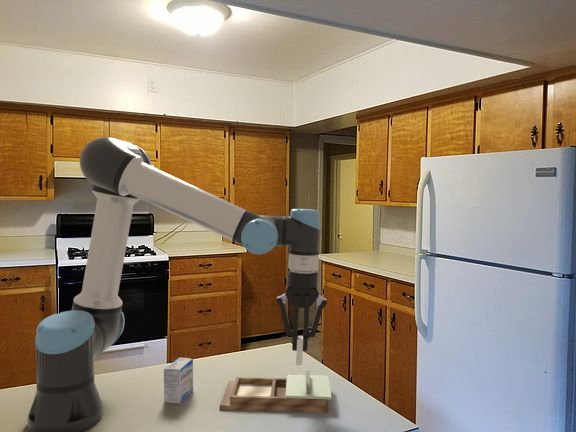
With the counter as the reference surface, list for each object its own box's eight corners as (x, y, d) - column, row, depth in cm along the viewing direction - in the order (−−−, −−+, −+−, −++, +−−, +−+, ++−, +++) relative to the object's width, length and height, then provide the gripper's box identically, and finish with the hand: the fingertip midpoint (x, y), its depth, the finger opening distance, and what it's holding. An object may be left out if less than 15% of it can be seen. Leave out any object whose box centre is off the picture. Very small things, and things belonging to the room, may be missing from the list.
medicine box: (180, 404, 108) (180, 370, 108) (163, 402, 109) (163, 368, 109) (193, 390, 116) (193, 358, 116) (177, 389, 117) (177, 356, 116)
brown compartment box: (219, 409, 106) (219, 398, 106) (229, 384, 120) (229, 374, 120) (328, 412, 106) (328, 402, 105) (325, 387, 120) (325, 377, 119)
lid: (285, 397, 107) (285, 389, 106) (287, 376, 119) (287, 368, 119) (331, 399, 106) (331, 390, 106) (328, 377, 119) (328, 369, 118)
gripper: (276, 272, 107) (272, 367, 109) (330, 274, 107) (325, 370, 108) (277, 267, 115) (274, 356, 116) (328, 269, 115) (324, 358, 116)
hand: (299, 362), depth 112 cm, fingers closed
